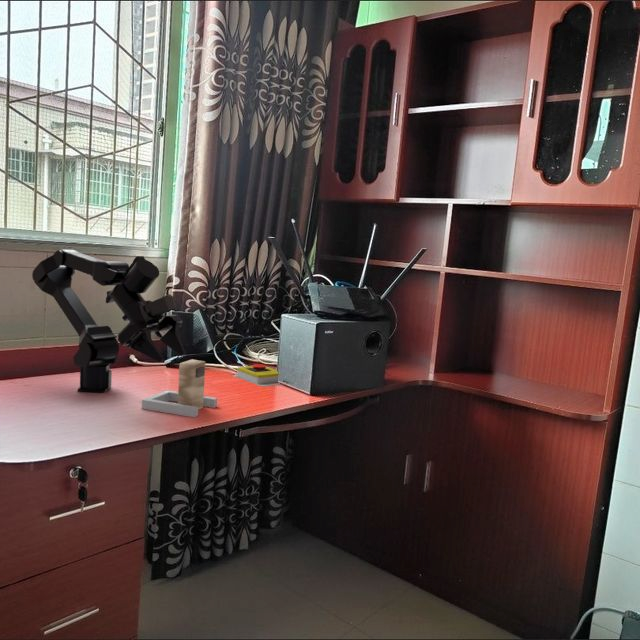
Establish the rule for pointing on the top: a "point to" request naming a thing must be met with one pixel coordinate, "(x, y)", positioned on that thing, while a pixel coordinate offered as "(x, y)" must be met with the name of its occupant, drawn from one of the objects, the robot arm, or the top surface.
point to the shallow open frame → (174, 404)
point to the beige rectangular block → (191, 383)
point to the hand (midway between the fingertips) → (173, 357)
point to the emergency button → (258, 375)
